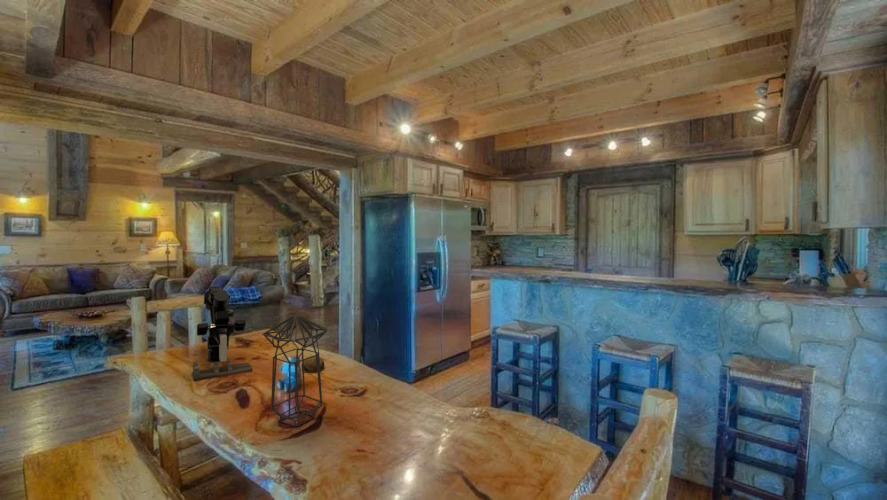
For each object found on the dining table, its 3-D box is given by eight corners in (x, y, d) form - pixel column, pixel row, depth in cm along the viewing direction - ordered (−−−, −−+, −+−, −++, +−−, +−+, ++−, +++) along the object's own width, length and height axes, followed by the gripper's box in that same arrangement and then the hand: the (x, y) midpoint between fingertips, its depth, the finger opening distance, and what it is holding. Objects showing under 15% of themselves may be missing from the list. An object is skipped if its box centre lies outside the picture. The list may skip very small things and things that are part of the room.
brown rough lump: (299, 378, 176) (294, 364, 172) (312, 362, 185) (307, 349, 181) (318, 380, 173) (313, 367, 170) (330, 364, 182) (325, 351, 178)
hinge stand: (192, 373, 170) (192, 362, 170) (248, 364, 183) (248, 353, 182) (194, 381, 161) (194, 369, 161) (252, 371, 174) (252, 360, 173)
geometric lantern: (331, 416, 131) (331, 313, 129) (292, 437, 118) (291, 323, 115) (300, 405, 139) (299, 308, 137) (259, 423, 125) (258, 316, 123)
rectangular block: (219, 358, 173) (219, 334, 172) (227, 357, 174) (227, 333, 174) (220, 361, 168) (220, 336, 168) (228, 360, 170) (228, 335, 170)
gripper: (197, 305, 168) (199, 336, 159) (244, 301, 179) (249, 330, 170) (195, 320, 175) (197, 350, 166) (242, 315, 186) (246, 344, 177)
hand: (223, 343), depth 170 cm, fingers closed on rectangular block, 2 cm apart
